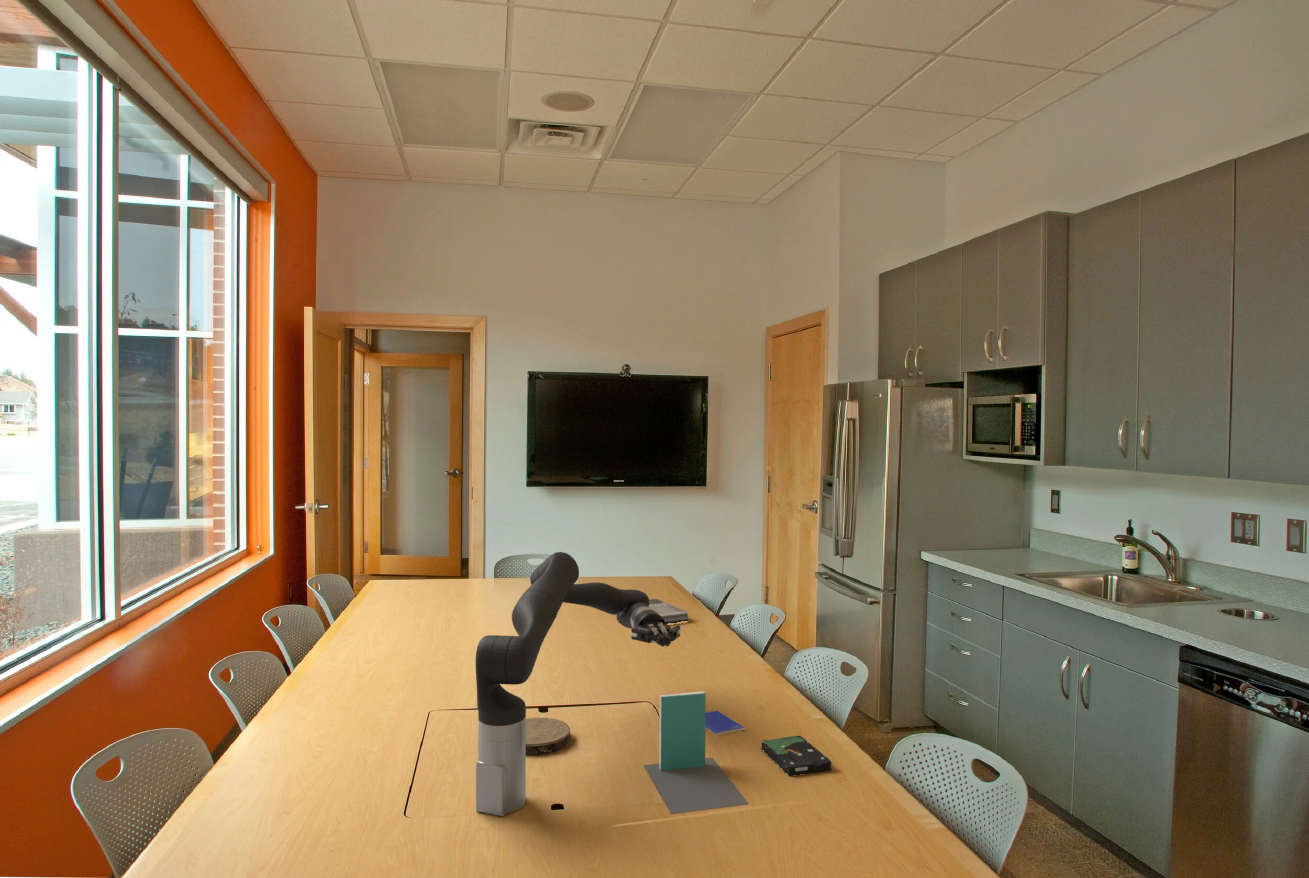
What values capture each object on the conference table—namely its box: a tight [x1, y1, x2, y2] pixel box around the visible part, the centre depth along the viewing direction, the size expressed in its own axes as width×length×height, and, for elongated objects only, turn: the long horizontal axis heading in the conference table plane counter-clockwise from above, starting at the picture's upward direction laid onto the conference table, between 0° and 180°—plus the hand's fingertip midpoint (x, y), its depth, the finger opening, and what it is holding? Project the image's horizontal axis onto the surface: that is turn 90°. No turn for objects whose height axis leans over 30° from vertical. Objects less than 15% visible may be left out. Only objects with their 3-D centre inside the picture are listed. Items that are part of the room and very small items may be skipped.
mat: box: [643, 757, 749, 815], centre depth 161 cm, size 22×16×1 cm
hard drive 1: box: [649, 598, 689, 624], centre depth 302 cm, size 18×27×4 cm
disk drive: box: [760, 735, 832, 777], centre depth 174 cm, size 10×3×15 cm
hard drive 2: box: [705, 710, 746, 736], centre depth 194 cm, size 2×8×12 cm
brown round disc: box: [526, 717, 571, 757], centre depth 183 cm, size 16×16×3 cm
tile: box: [658, 690, 707, 771], centre depth 169 cm, size 2×10×16 cm, turn 105°
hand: (665, 642), depth 182 cm, fingers closed
